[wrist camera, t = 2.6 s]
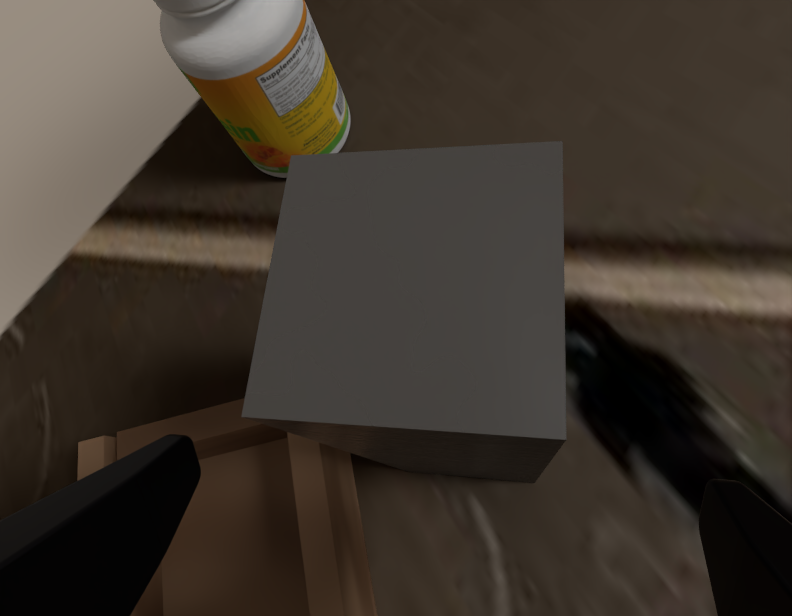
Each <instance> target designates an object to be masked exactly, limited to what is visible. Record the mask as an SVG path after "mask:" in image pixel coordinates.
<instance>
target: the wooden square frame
mask: <svg viewBox="0 0 792 616" xmlns="http://www.w3.org/2000/svg"><path fill="white" fill-rule="evenodd" d="M244 400H245V398H243V399H239V400H235V401H232V402H228V403H224V404H220V405H217V406H213V407H209V408H205V409H202V410H198V411H194V412H190V413H187V414H183V415H179V416H175V417H172V418H168V419H164V420H160V421H157V422H153V423H149V424H145V425H142V426H138V427H134V428H130V429H127V430H123V431H119V432H117V438H116V437H110V436H100V437H97V438H93V439H89V440H85V441H82V442H78V478H77V481H78V480H80V479H82V478H84V477H86V476H88V475H90V474H92V473H94V472H96V471H98V470H100V469H102V468H103V467H105V466H107V465H109V464H111V463H113V462H115V461H117V460H119V459H121V458H123V457H125V456H127V455H129V454H131V453H133V452H135V451H137V450H138V449H140V448H142V447H144V446H146V445H148V444H150V443H152V442H154V441H156V440H158V439H160V438H162V437H164V436H166V435H169V434H177V435H187V436H189V437H190V438H191V439H192V441H193V444H194V447H195V450H196V454H197V457H198V460H199V464H200V467H201V477H200V480H199V483H198V485H197V488H196V490H195V492H194V494H193V496H192V498H191V501H190V503H189V505H188V507H187V509H186V511H185V514H184V516H183V518H182V520H181V522H180V524H179V527H178V529H177V531H176V533H175V535H174V538H173V540H172V542H171V544H170V546H169V548H168V550H167V552H166V554H165V556H164V558H163V560H162V561H161V563H160V565H159V567H158V569H157V570H156V572H155V574H154V576H153V577H152V579H151V581H150V582H149V584H148V586H147V588H146V589H145V591H144V593H143V595H142V596H141V598H140V600H139V602H138V603H137V605H136V607H135V608H134V610H133V612H132V614H131V615H130V616H377V611H376V605H375V599H374V593H373V587H372V581H371V575H370V569H369V563H368V557H367V551H366V545H365V539H364V533H363V527H362V521H361V515H360V509H359V503H358V497H357V491H356V485H355V479H354V473H353V467H352V461H351V455H350V453H349V452H346V451H343V450H340V449H337V448H334V447H331V446H328V445H325V444H322V443H319V442H316V441H313V440H310V439H307V438H304V437H301V436H298V435H295V434H292V433H289V432H286V431H283V430H280V429H277V428H273V427H270V426H267V425H264V424H261V423H258V422H255V421H252V420H249V419H246V418H243V417H241V416H242V411H243V405H244Z"/></svg>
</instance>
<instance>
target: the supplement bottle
mask: <svg viewBox="0 0 792 616" xmlns="http://www.w3.org/2000/svg"><path fill="white" fill-rule="evenodd" d="M154 1H155V2H156V4H157V6H158V7H159V8H160V9H161V10H162V12H161V18H160V31H161V37H162V41H163V43H164V46H165V48H166V50H167V52H168V53H169V55H170V56H171V58H172V59H173V61H174V62H175V63H176V65H177V66H178V67H179V69H180V70H181V71H182V72H183V74H184V75H185V77H186V78H187V79H188V81H189V82H190V83H191V84H192V86H193V87H194V88H195V90H196V91H197V92H198V94H199V95H200V96H201V97H202V99H203V100H204V101H205V103H206V104H207V105H208V107H209V108H210V109H211V110H212V112H213V113H214V114H215V116H216V117H217V118H218V119H219V121H220V122H221V123H222V125H223V126H224V127H225V129H226V130H227V131H228V133H229V134H230V135H231V137H232V138H233V139H234V141H235V142H236V143H237V144H238V146H239V147H240V148H241V150H242V151H243V152H244V154H245V155H246V156H247V158H248V159H249V160H250V161H251V162H252V163H253V164H254V166H256V167H257V168H258V169H259V170H261V171H262V172H264V173H266V174H269V175H271V176H275V177H281V178H287V174H288V169H289V164H290V158H291V155H310V154H329V153H338V152H339V151H340V150H341V148H342V146H343V145H344V143H345V141H346V138H347V136H348V133H349V129H350V112H349V108H348V105H347V102H346V99H345V97H344V94H343V91H342V89H341V87H340V84H339V82H338V80H337V77H336V75H335V73H334V70H333V68H332V65H331V63H330V61H329V58H328V56H327V53H326V51H325V49H324V46H323V44H322V42H321V39H320V37H319V35H318V32H317V30H316V27H315V25H314V23H313V20H312V18H311V16H310V13H309V11H308V8H307V6H306V3H305V1H304V0H154Z"/></svg>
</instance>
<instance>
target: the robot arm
mask: <svg viewBox="0 0 792 616" xmlns="http://www.w3.org/2000/svg"><path fill="white" fill-rule="evenodd" d="M200 477H201V467H200V464H199V460H198V457H197V454H196V450H195V447H194V444H193V441H192V439H191V438H190V437H189V436H187V435H177V434H169V435H166V436H164V437H162V438H160V439H158V440H156V441H154V442H152V443H150V444H148V445H146V446H144V447H142V448H140V449H138V450H137V451H135V452H133V453H131V454H129V455H127V456H125V457H123V458H121V459H119V460H117V461H115V462H113V463H111V464H109V465H107V466H105V467H103V468H102V469H100V470H98V471H96V472H94V473H92V474H90V475H88V476H86V477H84V478H82V479H80V480H78V481H76V482H74V483H72V484H70V485H68V486H67V487H65V488H63V489H61V490H59V491H57V492H55V493H53V494H51V495H49V496H47V497H45V498H43V499H41V500H39V501H37V502H35V503H33V504H32V505H30V506H28V507H26V508H24V509H22V510H20V511H18V512H16V513H14V514H12V515H10V516H8V517H6V518H4V519H2V520H0V616H130V615H131V614H132V612H133V610H134V608H135V607H136V605H137V603H138V602H139V600H140V598H141V596H142V595H143V593H144V591H145V589H146V588H147V586H148V584H149V582H150V581H151V579H152V577H153V576H154V574H155V572H156V570H157V569H158V567H159V565H160V563H161V561H162V560H163V558H164V556H165V554H166V552H167V550H168V548H169V546H170V544H171V542H172V540H173V538H174V535H175V533H176V531H177V529H178V527H179V524H180V522H181V520H182V518H183V516H184V514H185V511H186V509H187V507H188V505H189V503H190V501H191V498H192V496H193V494H194V492H195V490H196V488H197V485H198V483H199V480H200ZM699 532H700V537H701V541H702V546H703V550H704V555H705V560H706V564H707V569H708V573H709V578H710V582H711V587H712V591H713V596H714V600H715V605H716V609H717V614H718V616H792V524H791V523H790V522H789V521H787V520H786V519H785V518H784V517H783V516H781V515H780V514H779V513H778V512H776V511H775V510H774V509H773V508H772V507H770V506H769V505H768V504H767V503H766V502H764V501H763V500H762V499H761V498H759V497H758V496H757V495H756V494H755V493H753V492H752V491H751V490H750V489H749V488H747V487H746V486H745V485H744V484H742V483H740V482H738V481H734V480H722V479H711V480H709V481H708V483H707V485H706V488H705V493H704V497H703V502H702V507H701V511H700V516H699Z"/></svg>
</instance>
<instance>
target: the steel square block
mask: <svg viewBox="0 0 792 616" xmlns="http://www.w3.org/2000/svg"><path fill="white" fill-rule="evenodd" d="M241 417H243V418H246V419H249V420H252V421H255V422H258V423H261V424H264V425H267V426H270V427H273V428H277V429H280V430H283V431H286V432H289V433H292V434H295V435H298V436H301V437H304V438H307V439H310V440H313V441H316V442H319V443H322V444H325V445H328V446H331V447H334V448H337V449H340V450H343V451H346V452H349V453H352V454H356V455H359V456H362V457H365V458H368V459H371V460H374V461H377V462H380V463H383V464H386V465H389V466H392V467H395V468H398V469H401V470H404V471H407V472H417V473H428V474H440V475H451V476H462V477H473V478H484V479H495V480H507V481H518V482H529V483H535V482H536V480H537V479H538V478H539V476H540V475H541V473H542V472H543V471H544V469H545V468H546V467H547V465H548V464H549V463H550V461H551V460H552V459H553V457H554V456H555V454H556V453H557V452H558V450H559V449H560V448H561V446H562V445H563V444H564V442H565V441H566V381H565V302H564V223H563V144H562V141H556V142H537V143H518V144H499V145H480V146H461V147H443V148H424V149H405V150H386V151H367V152H348V153H329V154H310V155H291V158H290V164H289V169H288V174H287V180H286V185H285V190H284V195H283V201H282V206H281V211H280V216H279V222H278V227H277V232H276V237H275V243H274V248H273V253H272V258H271V264H270V269H269V274H268V279H267V285H266V290H265V295H264V300H263V306H262V311H261V316H260V321H259V327H258V332H257V337H256V342H255V348H254V353H253V358H252V363H251V369H250V374H249V379H248V384H247V390H246V395H245V400H244V405H243V411H242V416H241Z"/></svg>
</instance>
